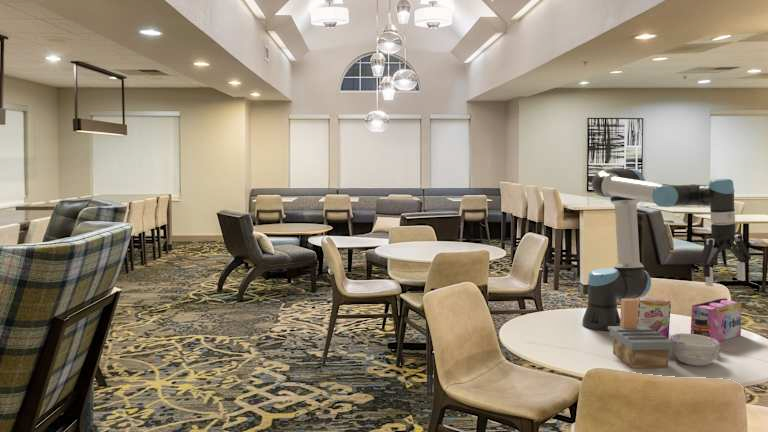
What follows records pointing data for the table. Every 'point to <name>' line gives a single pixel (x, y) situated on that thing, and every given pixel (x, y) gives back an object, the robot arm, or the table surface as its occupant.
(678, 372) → the table surface
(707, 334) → the supplement bottle
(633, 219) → the robot arm
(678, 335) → the paper bowls
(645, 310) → the candy bar box
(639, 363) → the tub
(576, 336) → the table surface
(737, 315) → the gum box
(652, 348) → the grooved grey block
